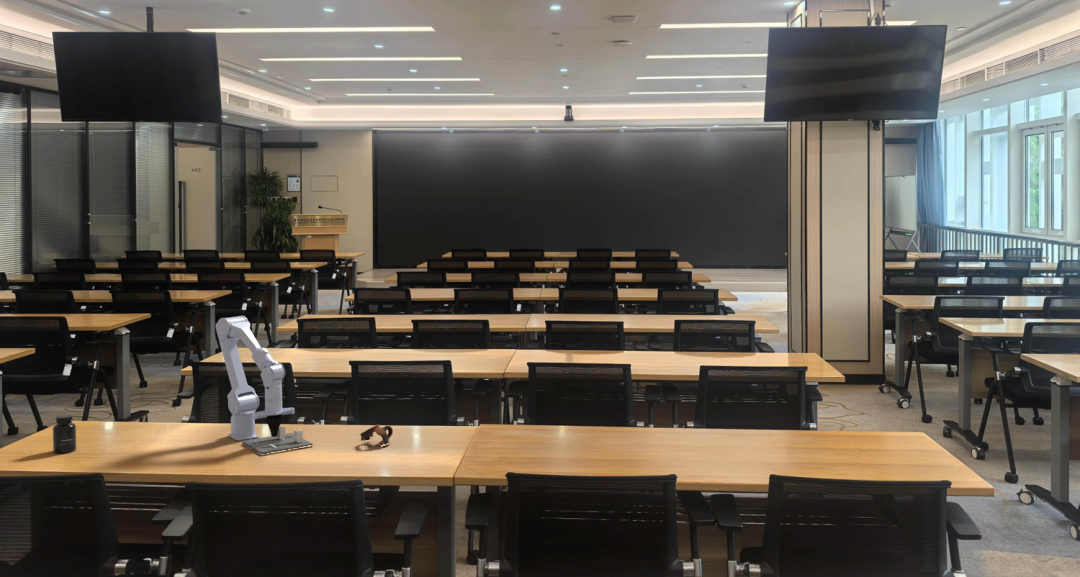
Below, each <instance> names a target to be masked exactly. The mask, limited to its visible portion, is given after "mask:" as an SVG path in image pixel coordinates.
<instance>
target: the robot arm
mask: <svg viewBox="0 0 1080 577" xmlns="http://www.w3.org/2000/svg"><path fill="white" fill-rule="evenodd" d="M215 330H216V334H217V338H218V341H219V345H220V348H221V353H222V357H223V359H224V363H225V367H226V371H227V375H228V379H229V382H230V386H231V389H230V392H229V393H228V394H227V396H226V397H227V402H228V403H227V406H228V410H229V412H230V413H231V416H230V433H228V437H231V438H232V439H234V441H246V440H252V439H258V438H260V436H259V435H258V434H256V429H255V428H256V424H255V422H256V421H255V420H257V419H263V418H264V419H265V422H266V423H267V426H268V429H269V432H270V436H272V437H277V433H278V429H279V426H281V424H282V422H283V420H284V415H285V416H286V415H294V414H295V412H296V411H295V407H283V384H282V382H283V379H284V378H285V376H286V369H285V367H284V365H283V364H282V363H280V362H278V361H276V360H275V359H274V357H273V356H272V355H271V353H270V352H269V350H268V348H265V347H261V345H260V343H259V342H258V340H257V339H256V337H255V336H254V334H253V332H252V330H251V323H250V321H249V320H248V318H247V317H246V316H245V315H239V316H232V317H221V318H219V319H218V321H217V323H216V325H215ZM239 340H241V341H242V343H244V345H245V346H246V347H247V349H249V351H250V352H251V353H252V354H251V359H252V360H253V362H254V364H256V366H257V367H258V368H259V370H260V372H261V373H260V377H261V379H262V385H263V387H264V410H261V411H257V409H258V408H259V407H260V398H259V396H258V394H256V391H255V388H254V387H252V386H251V385H248V381H247V378H246V374H245V371H244V367H243V363H242V360H241V356H240V352H239V348H238V345H237V343H238V342H239Z"/></svg>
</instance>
